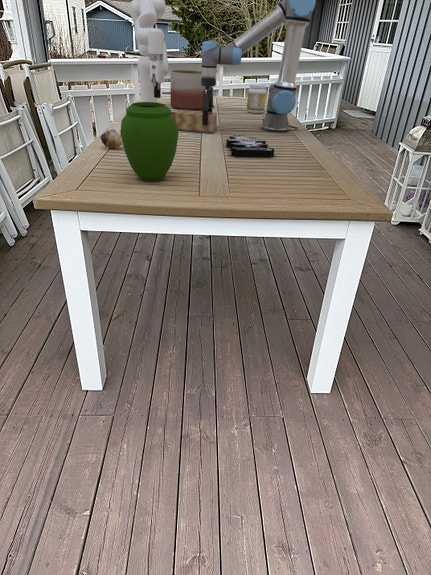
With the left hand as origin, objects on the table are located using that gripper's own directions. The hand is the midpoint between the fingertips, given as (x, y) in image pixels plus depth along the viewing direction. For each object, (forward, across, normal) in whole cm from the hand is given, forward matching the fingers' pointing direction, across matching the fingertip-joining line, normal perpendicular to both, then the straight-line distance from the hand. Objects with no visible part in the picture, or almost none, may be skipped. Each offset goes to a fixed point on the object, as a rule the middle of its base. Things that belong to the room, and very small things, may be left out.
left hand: (157, 97), depth 215 cm
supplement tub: (+15, +74, -46) cm, 88 cm away
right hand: (+11, 0, -27) cm, 29 cm away
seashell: (+15, -52, +5) cm, 55 cm away
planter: (+15, +71, 0) cm, 72 cm away
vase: (+15, -88, -24) cm, 92 cm away
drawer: (+14, 0, -8) cm, 16 cm away
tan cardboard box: (+15, 0, -21) cm, 26 cm away
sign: (+15, -32, -53) cm, 63 cm away
